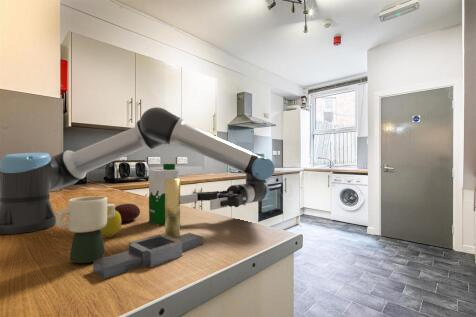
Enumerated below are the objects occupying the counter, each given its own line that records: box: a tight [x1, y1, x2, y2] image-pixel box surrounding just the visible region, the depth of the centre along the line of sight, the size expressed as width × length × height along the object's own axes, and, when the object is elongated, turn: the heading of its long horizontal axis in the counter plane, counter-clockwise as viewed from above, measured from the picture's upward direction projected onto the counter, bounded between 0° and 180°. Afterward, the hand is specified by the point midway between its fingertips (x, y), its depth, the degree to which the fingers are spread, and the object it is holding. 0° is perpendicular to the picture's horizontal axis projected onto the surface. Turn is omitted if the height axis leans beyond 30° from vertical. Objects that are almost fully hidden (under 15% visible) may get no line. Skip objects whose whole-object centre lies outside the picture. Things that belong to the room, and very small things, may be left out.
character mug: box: [55, 195, 116, 264], centre depth 50 cm, size 11×7×13 cm, turn 140°
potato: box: [115, 203, 141, 223], centre depth 82 cm, size 7×10×6 cm
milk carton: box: [148, 163, 180, 226], centre depth 82 cm, size 9×9×20 cm
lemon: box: [99, 208, 122, 238], centre depth 65 cm, size 6×6×8 cm
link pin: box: [164, 178, 181, 237], centre depth 65 cm, size 4×4×16 cm
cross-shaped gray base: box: [92, 232, 203, 280], centre depth 52 cm, size 9×23×3 cm, turn 140°
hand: (195, 202), depth 71 cm, fingers open, 13 cm apart
